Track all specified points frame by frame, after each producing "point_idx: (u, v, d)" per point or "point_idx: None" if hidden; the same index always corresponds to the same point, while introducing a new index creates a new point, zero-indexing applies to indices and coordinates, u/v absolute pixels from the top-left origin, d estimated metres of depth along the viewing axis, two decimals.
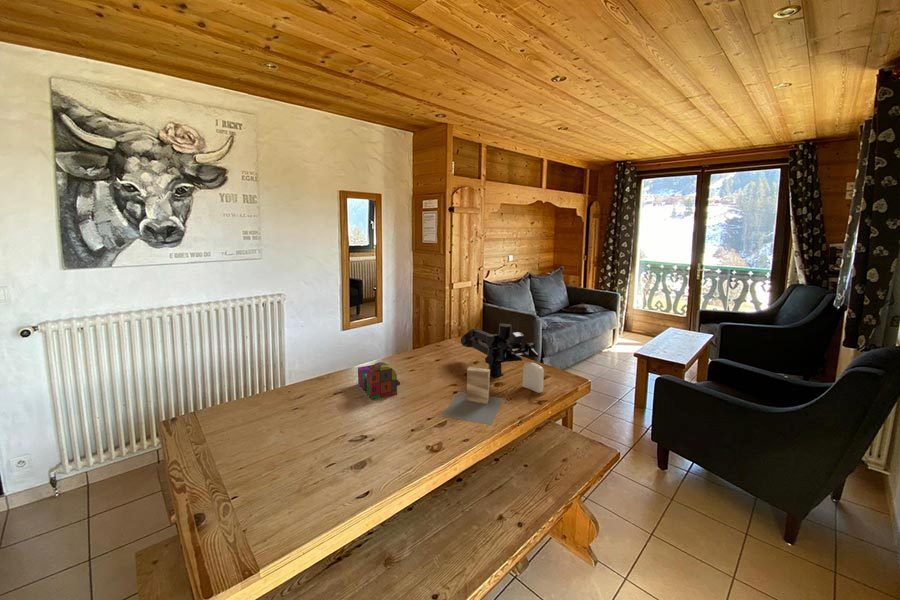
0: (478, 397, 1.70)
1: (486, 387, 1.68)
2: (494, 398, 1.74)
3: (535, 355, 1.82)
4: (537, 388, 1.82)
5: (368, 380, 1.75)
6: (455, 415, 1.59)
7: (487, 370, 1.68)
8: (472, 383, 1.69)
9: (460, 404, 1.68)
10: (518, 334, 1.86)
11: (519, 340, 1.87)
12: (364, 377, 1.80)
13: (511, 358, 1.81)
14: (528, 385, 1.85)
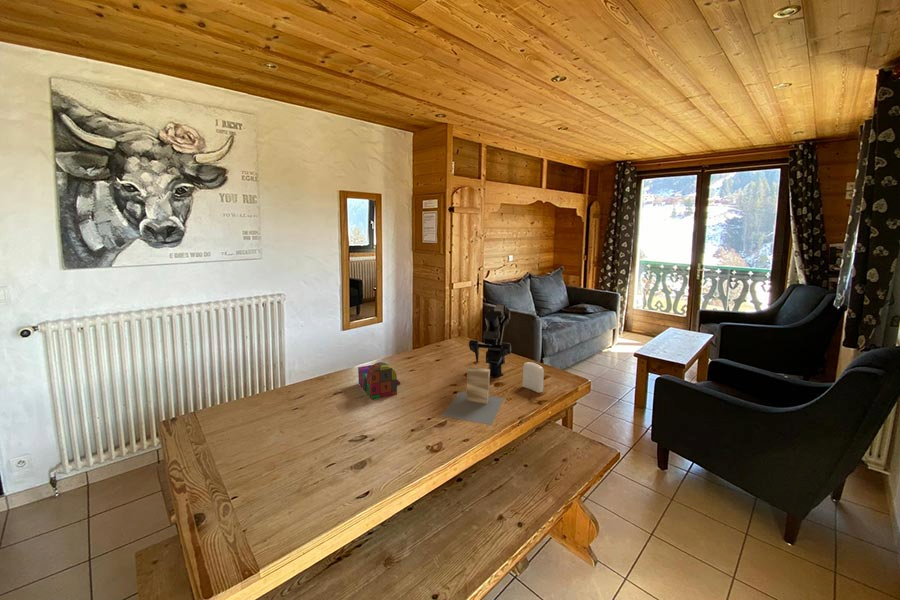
0: (478, 397, 1.70)
1: (486, 387, 1.68)
2: (494, 398, 1.74)
3: None
4: (537, 388, 1.82)
5: (368, 380, 1.75)
6: (455, 415, 1.59)
7: (487, 370, 1.68)
8: (472, 383, 1.69)
9: (460, 404, 1.68)
10: (490, 335, 1.78)
11: (492, 339, 1.80)
12: (364, 377, 1.80)
13: None
14: (528, 385, 1.85)
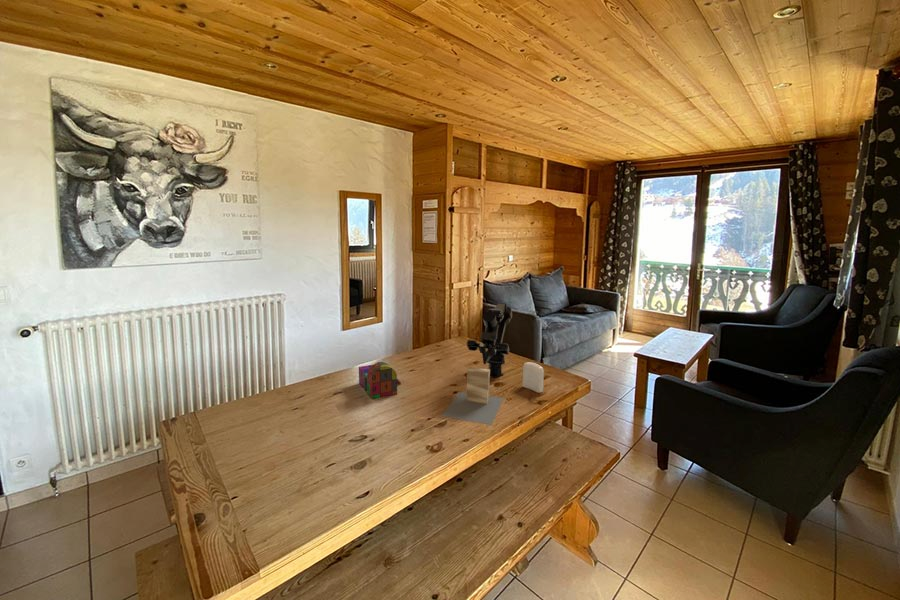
0: (478, 397, 1.70)
1: (486, 387, 1.68)
2: (494, 398, 1.74)
3: None
4: (537, 388, 1.82)
5: (368, 380, 1.76)
6: (455, 415, 1.59)
7: (487, 370, 1.68)
8: (472, 383, 1.69)
9: (460, 404, 1.68)
10: (487, 336, 1.78)
11: (490, 339, 1.80)
12: (364, 377, 1.81)
13: None
14: (528, 385, 1.85)
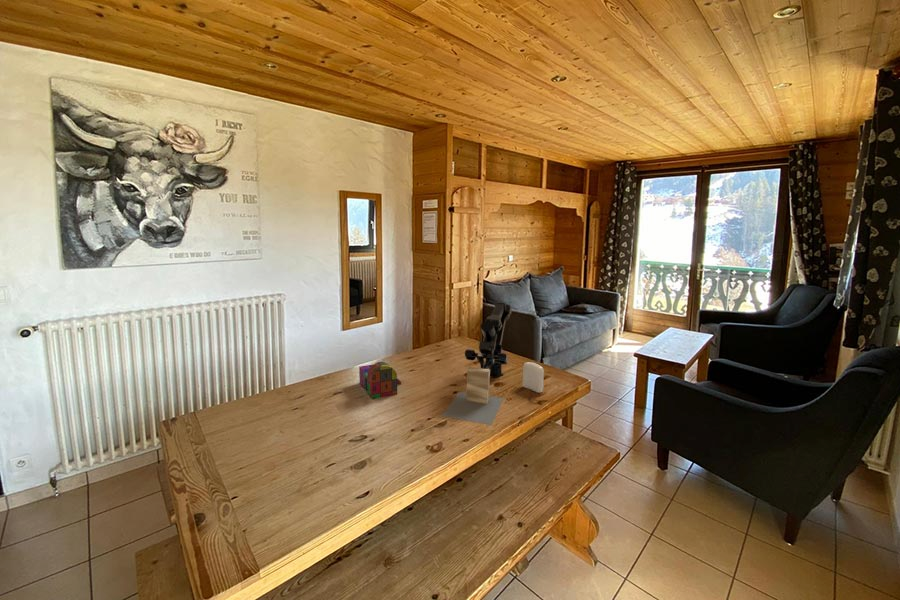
0: (478, 397, 1.70)
1: (486, 387, 1.68)
2: (494, 398, 1.74)
3: None
4: (537, 388, 1.82)
5: (368, 379, 1.76)
6: (455, 415, 1.59)
7: (487, 370, 1.68)
8: (472, 383, 1.69)
9: (460, 404, 1.68)
10: (485, 346, 1.75)
11: (488, 349, 1.78)
12: (365, 376, 1.81)
13: None
14: (528, 385, 1.85)
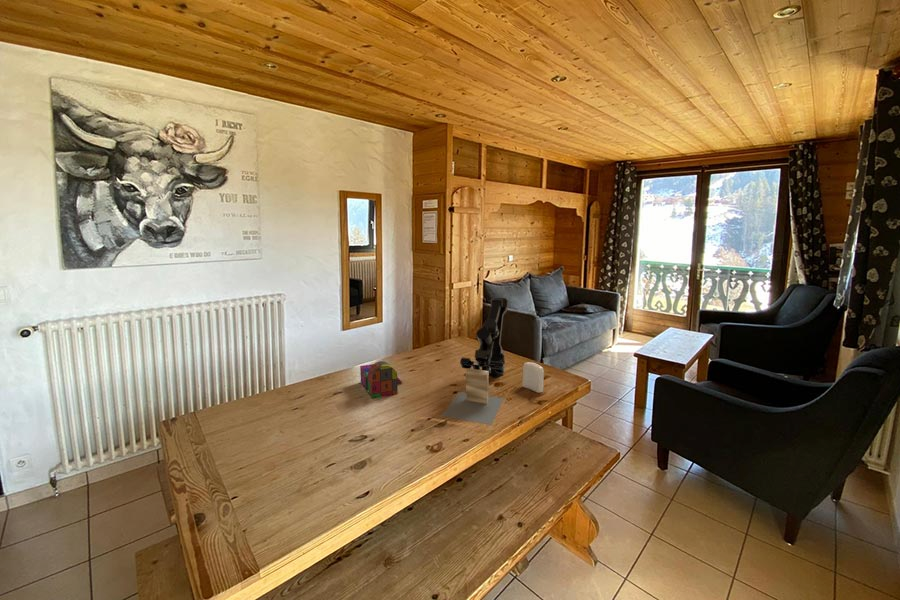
0: (478, 397, 1.69)
1: (485, 389, 1.67)
2: (494, 398, 1.74)
3: None
4: (537, 388, 1.82)
5: (369, 379, 1.76)
6: (455, 415, 1.59)
7: (486, 372, 1.66)
8: (471, 385, 1.68)
9: (460, 404, 1.68)
10: (481, 354, 1.69)
11: (484, 358, 1.72)
12: (365, 376, 1.82)
13: None
14: (528, 385, 1.85)
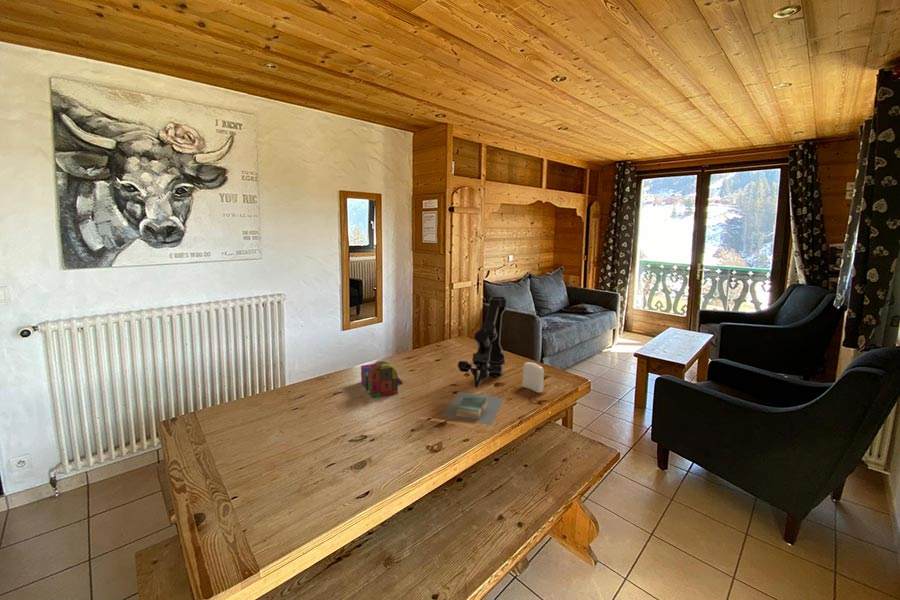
0: None
1: None
2: (494, 398, 1.74)
3: None
4: (537, 388, 1.82)
5: (369, 378, 1.77)
6: (455, 415, 1.59)
7: (477, 415, 1.56)
8: None
9: None
10: (479, 358, 1.66)
11: None
12: (366, 375, 1.82)
13: None
14: (528, 385, 1.85)
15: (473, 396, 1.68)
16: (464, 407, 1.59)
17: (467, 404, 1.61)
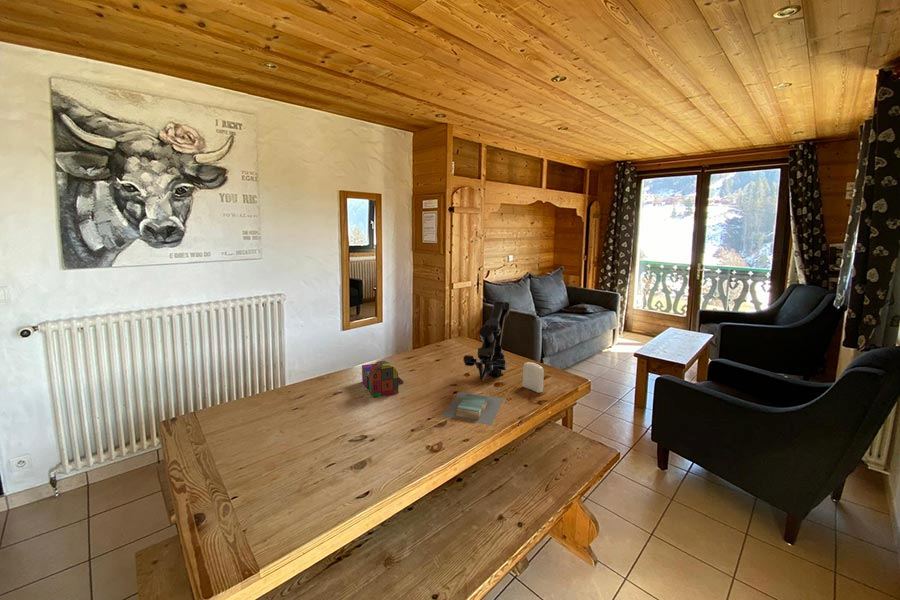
0: None
1: None
2: (494, 398, 1.74)
3: None
4: (537, 388, 1.82)
5: (370, 378, 1.77)
6: (455, 415, 1.59)
7: (477, 415, 1.56)
8: None
9: None
10: (484, 352, 1.74)
11: (487, 355, 1.76)
12: (367, 375, 1.82)
13: None
14: (528, 385, 1.85)
15: (473, 396, 1.68)
16: (464, 407, 1.59)
17: (467, 404, 1.61)
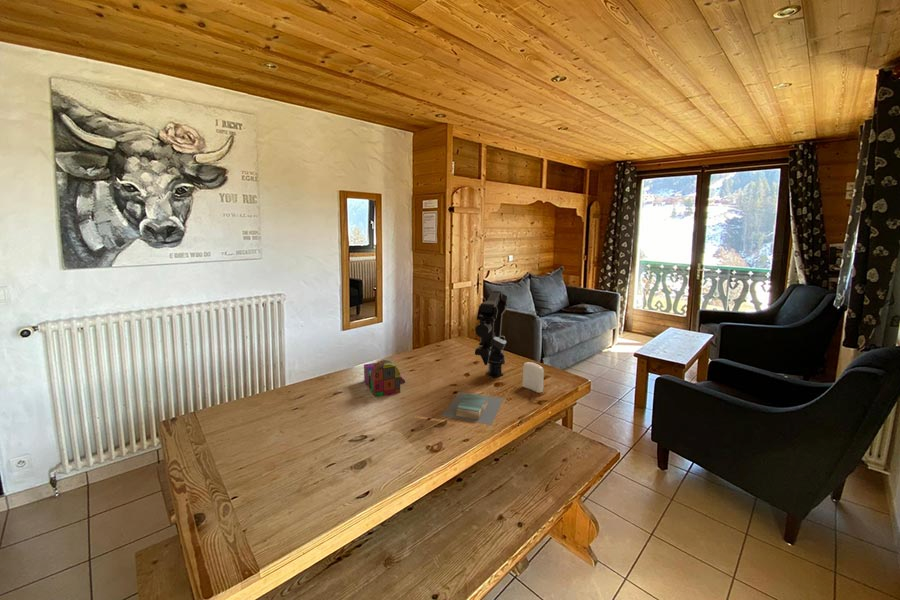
0: None
1: None
2: (494, 398, 1.74)
3: None
4: (537, 388, 1.82)
5: (372, 377, 1.78)
6: (455, 415, 1.59)
7: (477, 415, 1.56)
8: None
9: None
10: (504, 346, 1.79)
11: None
12: (369, 374, 1.83)
13: None
14: (528, 385, 1.85)
15: (473, 396, 1.68)
16: (464, 407, 1.59)
17: (467, 404, 1.61)
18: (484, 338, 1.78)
